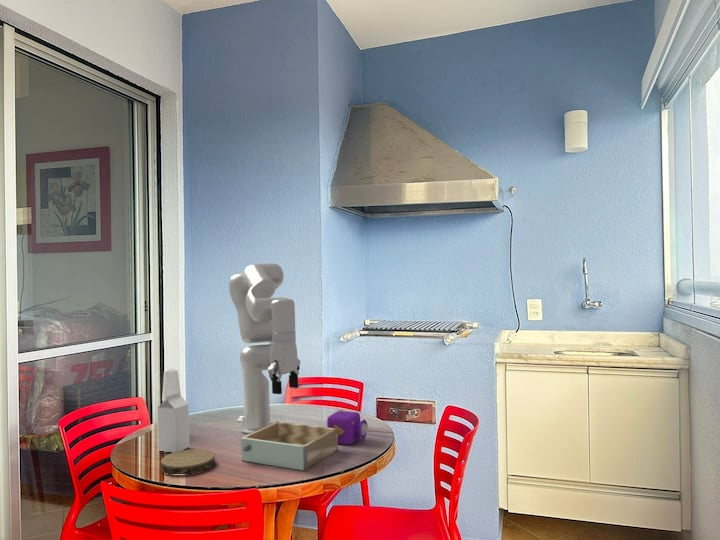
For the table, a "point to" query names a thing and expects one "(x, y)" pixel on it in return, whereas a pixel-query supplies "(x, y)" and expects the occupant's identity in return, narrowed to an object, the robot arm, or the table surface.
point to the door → (274, 453)
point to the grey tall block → (170, 383)
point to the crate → (301, 438)
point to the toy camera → (347, 426)
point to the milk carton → (173, 424)
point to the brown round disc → (188, 461)
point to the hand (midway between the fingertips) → (285, 390)
